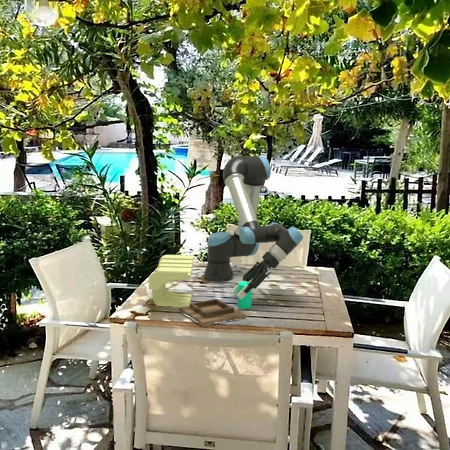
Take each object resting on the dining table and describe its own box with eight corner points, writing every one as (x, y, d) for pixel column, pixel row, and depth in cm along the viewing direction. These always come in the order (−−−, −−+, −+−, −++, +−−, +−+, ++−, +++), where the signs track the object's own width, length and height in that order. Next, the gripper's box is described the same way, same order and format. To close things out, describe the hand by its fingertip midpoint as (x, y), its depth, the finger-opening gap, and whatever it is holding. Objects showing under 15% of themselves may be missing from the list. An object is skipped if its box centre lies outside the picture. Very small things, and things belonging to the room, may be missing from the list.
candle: (237, 304, 225) (237, 278, 223) (250, 304, 226) (251, 277, 224) (238, 308, 220) (239, 281, 217) (252, 308, 220) (253, 281, 218)
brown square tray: (178, 311, 214) (178, 302, 214) (219, 304, 225) (219, 295, 224) (202, 327, 198) (203, 317, 197) (245, 318, 209) (245, 308, 208)
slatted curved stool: (159, 291, 242) (159, 254, 238) (193, 292, 241) (193, 255, 238) (148, 313, 212) (148, 271, 209) (187, 314, 212) (187, 272, 209)
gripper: (287, 268, 214) (249, 307, 213) (272, 257, 232) (236, 293, 231) (276, 256, 212) (237, 296, 211) (261, 246, 230) (225, 283, 229)
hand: (236, 295), depth 221 cm, fingers closed on candle, 6 cm apart
